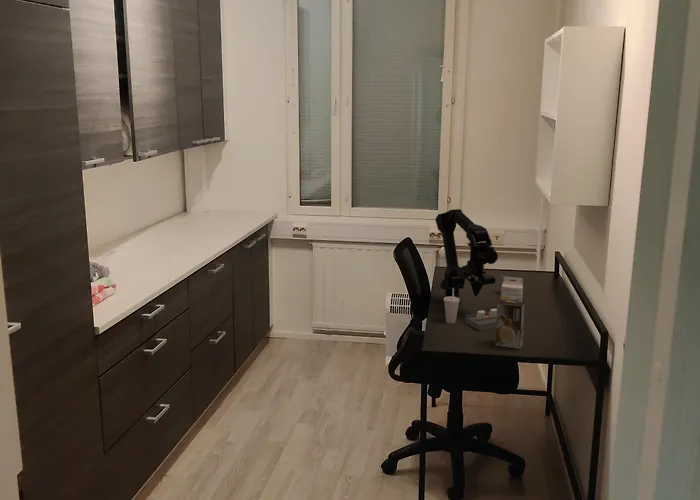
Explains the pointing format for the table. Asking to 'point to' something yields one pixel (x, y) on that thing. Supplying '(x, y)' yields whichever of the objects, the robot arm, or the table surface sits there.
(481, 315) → the breaker paddles
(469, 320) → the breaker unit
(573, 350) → the table surface
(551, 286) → the table surface
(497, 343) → the coffee box
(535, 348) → the table surface
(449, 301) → the smoothie
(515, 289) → the ink cartridge box
